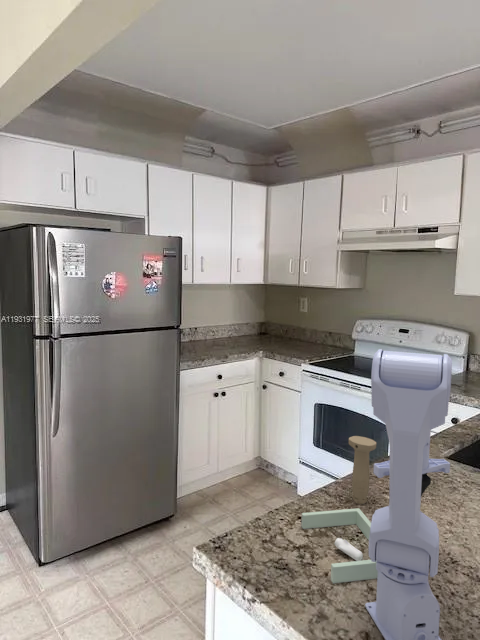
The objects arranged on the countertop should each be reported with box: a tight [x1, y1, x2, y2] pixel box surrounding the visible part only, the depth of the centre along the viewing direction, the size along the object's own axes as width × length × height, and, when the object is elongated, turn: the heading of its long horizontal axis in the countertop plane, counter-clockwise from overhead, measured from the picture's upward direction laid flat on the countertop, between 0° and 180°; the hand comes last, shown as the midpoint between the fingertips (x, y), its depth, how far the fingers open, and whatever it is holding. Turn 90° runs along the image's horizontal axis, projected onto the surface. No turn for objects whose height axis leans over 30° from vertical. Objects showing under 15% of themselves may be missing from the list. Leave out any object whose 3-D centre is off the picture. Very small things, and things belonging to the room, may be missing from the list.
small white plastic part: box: [334, 537, 365, 561], centre depth 87 cm, size 4×6×3 cm, turn 23°
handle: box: [348, 435, 377, 505], centre depth 107 cm, size 5×6×15 cm
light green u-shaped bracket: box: [300, 507, 378, 584], centre depth 89 cm, size 18×13×3 cm
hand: (409, 509), depth 86 cm, fingers closed
